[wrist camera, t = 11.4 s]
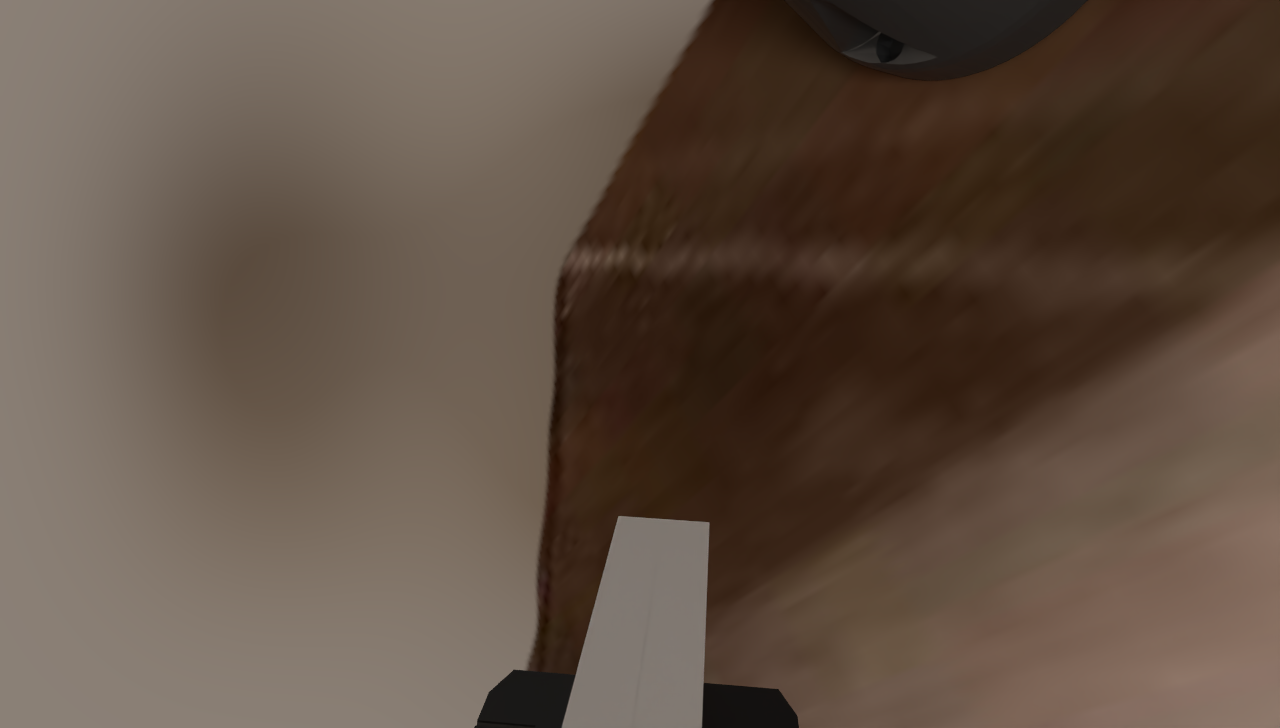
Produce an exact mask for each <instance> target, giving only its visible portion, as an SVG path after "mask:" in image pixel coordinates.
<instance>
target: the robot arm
mask: <svg viewBox="0 0 1280 728" xmlns="http://www.w3.org/2000/svg"><path fill="white" fill-rule="evenodd" d="M785 1H786V2H787V3H788V4H789V5H790V6H791V7H792V8H793V9H794V10H795V12H796V13H797V14H798V15H799V16H800V17H801V18H802V19H803V20H804V21H805V22H806V23H807V24H808V25H809V26H810V27H811V28H812V29H813V30H814V31H815V32H816V33H817V34H818V35H819V36H820V37H821V38H822V39H823V40H824V41H825V42H826V43H827V44H828V45H830V46H831V47H832V48H833V49H835V50H836V51H837V52H839V53H841V54H842V55H844V56H845V57H847V58H849V59H850V60H852V61H854V62H856V63H858V64H861V65H863V66H866V67H869V68H872V69H876V70H879V71H882V72H886V73H889V74H893V75H896V76H900V77H904V78H909V79H915V80H945V79H953V78H959V77H964V76H968V75H971V74H975V73H978V72H981V71H984V70H987V69H989V68H992V67H994V66H997V65H999V64H1001V63H1003V62H1006V61H1007V60H1009V59H1011V58H1013V57H1015V56H1017V55H1019V54H1021V53H1022V52H1024V51H1026V50H1027V49H1029V48H1030V47H1032V46H1034V45H1035V44H1036V43H1038V42H1039V41H1041V40H1042V39H1044V38H1045V37H1047V36H1048V35H1049V34H1050V33H1052V32H1053V31H1054V30H1055V29H1057V28H1058V27H1059V26H1060V25H1062V24H1063V23H1064V22H1065V21H1066V20H1067V19H1068V18H1069V17H1071V16H1072V15H1073V14H1074V13H1075V12H1076V11H1077V10H1078V9H1079V8H1080V7H1081V6H1082V5H1083V4H1084V3H1085V2H1086V1H1087V0H785ZM708 545H709V522H696V521H682V520H667V519H653V518H638V517H624V516H618V520H617V524H616V527H615V531H614V535H613V539H612V542H611V546H610V550H609V554H608V557H607V561H606V565H605V568H604V572H603V576H602V580H601V583H600V587H599V591H598V594H597V598H596V602H595V606H594V609H593V613H592V617H591V620H590V624H589V628H588V632H587V635H586V639H585V643H584V647H583V650H582V654H581V658H580V661H579V665H578V669H577V673H576V675H570V674H558V673H547V672H535V671H523V670H513V671H512V672H511V673H510V674H509V675H508V676H507V677H506V678H504V679H503V680H502V681H501V682H500V683H499V684H498V685H497V686H495V687H494V688H493V689H492V690H491V691H490V692H489V694H488V696H487V699H486V701H485V703H484V706H483V708H482V710H481V713H480V715H479V718H478V721H477V726H475V727H474V728H799V725H798V717H797V715H796V713H795V712H794V711H793V709H792V708H791V706H790V705H789V704H788V702H787V701H786V699H785V698H784V697H783V695H782V694H781V692H780V691H779V690H778V689H769V688H758V687H746V686H734V685H722V684H710V683H704V655H705V628H706V600H707V573H708Z"/></svg>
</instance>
